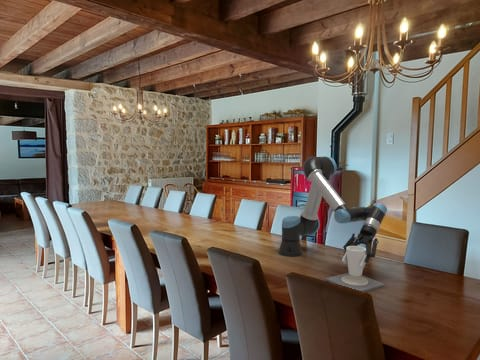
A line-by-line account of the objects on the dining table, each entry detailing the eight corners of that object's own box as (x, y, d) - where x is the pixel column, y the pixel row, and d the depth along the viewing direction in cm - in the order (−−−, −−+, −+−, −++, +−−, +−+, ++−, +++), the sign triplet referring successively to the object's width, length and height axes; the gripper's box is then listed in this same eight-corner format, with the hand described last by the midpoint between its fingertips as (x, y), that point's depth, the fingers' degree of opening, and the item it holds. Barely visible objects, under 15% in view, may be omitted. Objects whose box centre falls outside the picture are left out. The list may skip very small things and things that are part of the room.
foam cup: (352, 277, 168) (353, 251, 167) (341, 271, 177) (342, 246, 176) (369, 276, 171) (370, 250, 170) (358, 269, 180) (358, 245, 179)
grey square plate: (325, 280, 178) (325, 277, 178) (352, 273, 188) (352, 270, 188) (356, 294, 161) (356, 290, 161) (384, 286, 171) (384, 282, 171)
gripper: (392, 236, 174) (375, 274, 165) (353, 229, 191) (336, 263, 182) (388, 227, 170) (370, 266, 161) (348, 220, 187) (330, 255, 178)
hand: (352, 264), depth 172 cm, fingers closed on foam cup, 9 cm apart
